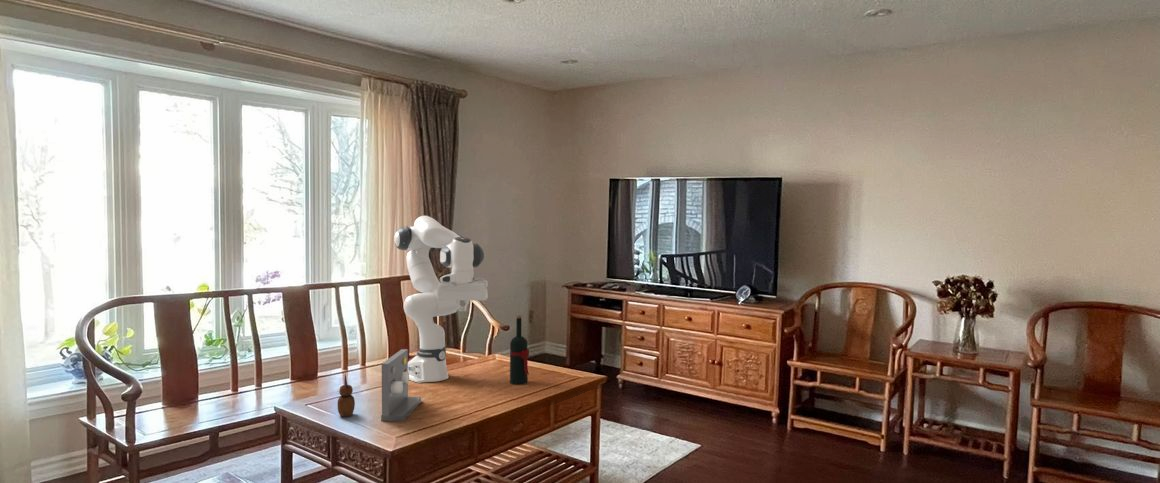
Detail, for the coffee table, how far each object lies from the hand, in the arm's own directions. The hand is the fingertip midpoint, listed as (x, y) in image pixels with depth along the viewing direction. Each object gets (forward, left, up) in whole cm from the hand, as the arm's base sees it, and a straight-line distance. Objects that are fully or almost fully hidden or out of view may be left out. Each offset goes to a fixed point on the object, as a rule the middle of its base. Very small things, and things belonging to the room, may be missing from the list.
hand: (462, 311), depth 269 cm
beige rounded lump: (-11, -22, -26) cm, 36 cm away
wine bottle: (+8, +29, -35) cm, 46 cm away
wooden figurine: (-20, -42, -35) cm, 58 cm away
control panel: (-6, -27, -35) cm, 45 cm away
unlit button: (-3, -33, -26) cm, 42 cm away
